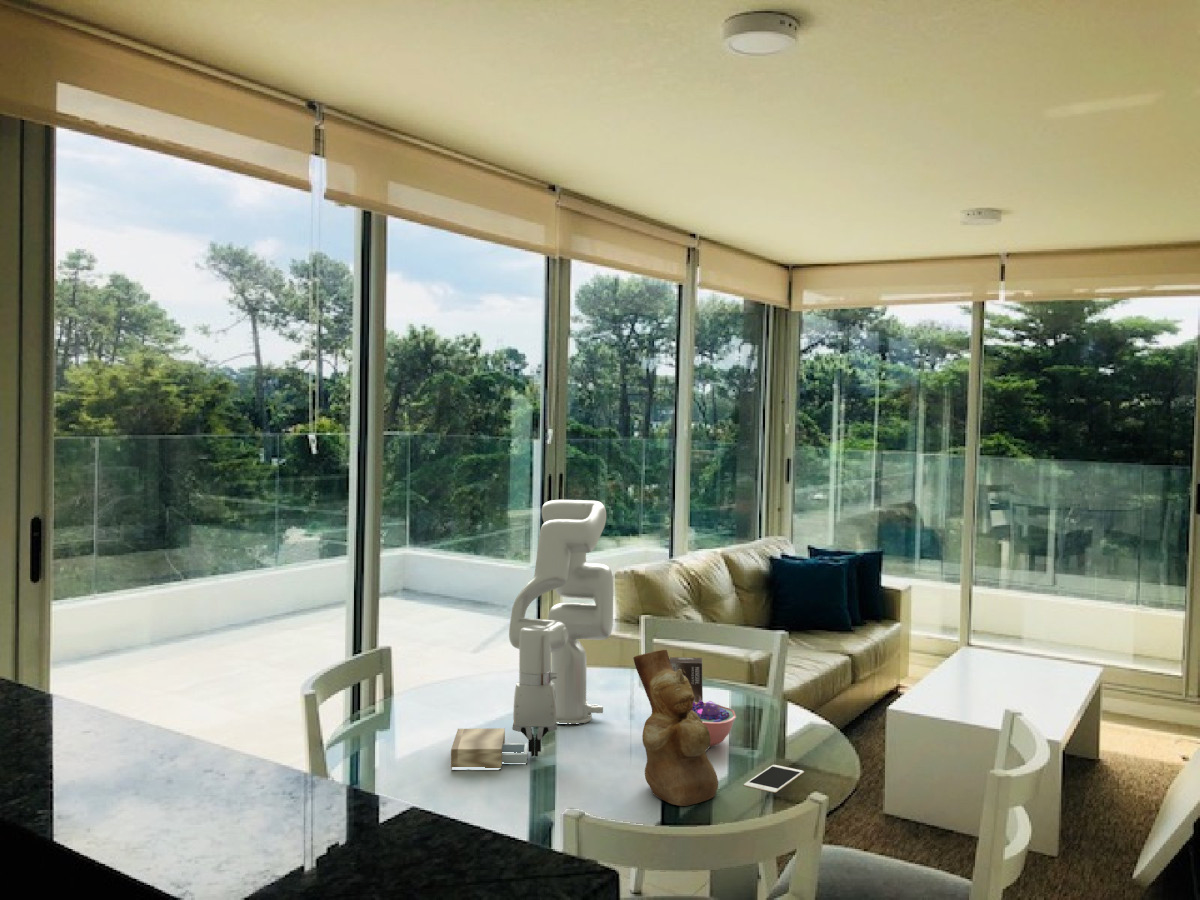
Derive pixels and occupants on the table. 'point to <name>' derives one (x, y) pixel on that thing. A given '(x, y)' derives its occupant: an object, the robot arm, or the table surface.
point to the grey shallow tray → (515, 756)
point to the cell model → (715, 720)
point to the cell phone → (774, 778)
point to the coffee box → (690, 673)
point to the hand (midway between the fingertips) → (534, 754)
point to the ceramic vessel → (674, 735)
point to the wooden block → (478, 748)
